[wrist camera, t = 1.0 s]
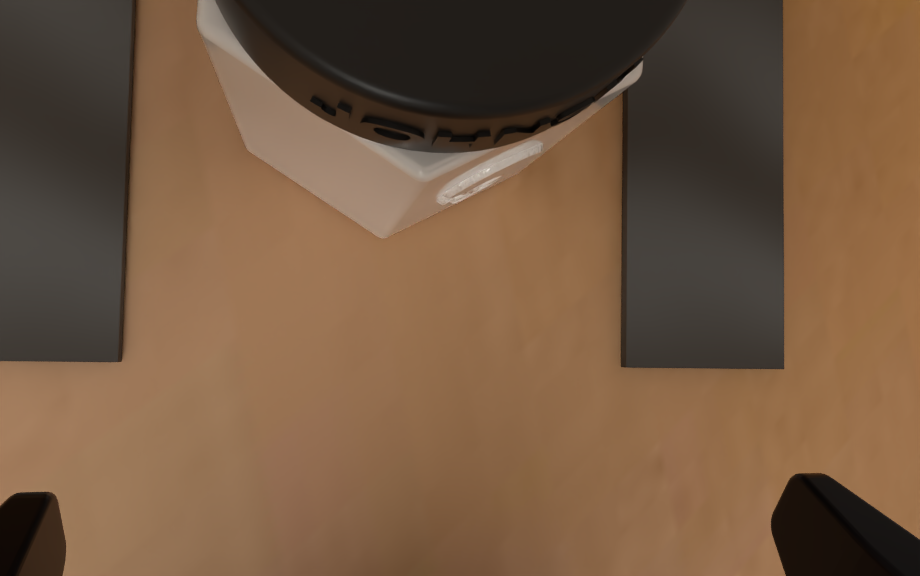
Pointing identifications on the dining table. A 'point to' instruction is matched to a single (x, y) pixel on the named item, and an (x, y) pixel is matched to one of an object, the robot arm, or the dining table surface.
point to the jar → (419, 89)
